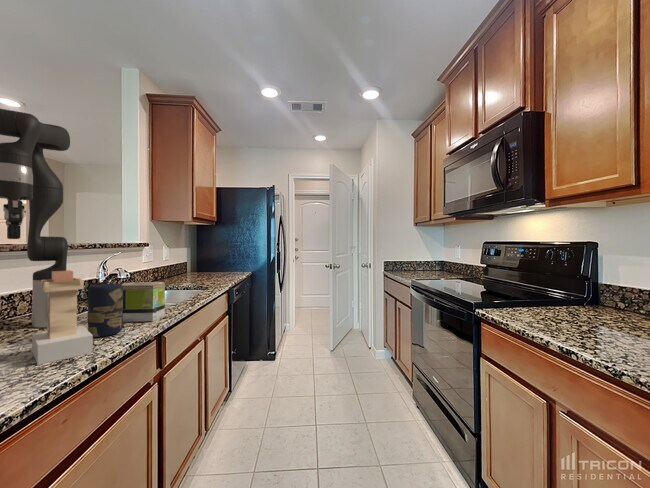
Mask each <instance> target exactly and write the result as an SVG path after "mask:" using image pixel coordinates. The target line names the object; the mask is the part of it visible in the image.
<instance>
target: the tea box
mask: <svg viewBox="0 0 650 488" xmlns="http://www.w3.org/2000/svg"><path fill="white" fill-rule="evenodd" d="M121 284H122V286H123V323H125V322H126V323H130V322H131V323H133V322H137V323H138V322H141V323H142V322H155V321H157V320H159V319H162V318H164V317H165V313H166V312H165V311H166V310H165V309H166V292H165V291H166V290H165V289H166V283H165V281H153V282H152V281H151V282H150V281H149V282H148V281H144V282H143V281H142V282H125V283H121Z"/></svg>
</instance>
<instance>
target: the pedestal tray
mask: <svg viewBox="0 0 650 488" xmlns="http://www.w3.org/2000/svg"><path fill="white" fill-rule="evenodd" d="M84 281H85V280H84V279H82V278H80V277H73V281H59V282H52V279H50V280H41V289H42V290H43V291H44V292H48V317H47V327H46V328H47V330H46V331H47V335H48V337H49V338H50V339H53V338H59V337H64V336H70V335H76V334H77V325H78V322H77V321H78V319H77V318H78V290H84V289H85V287H84V284H85V282H84Z"/></svg>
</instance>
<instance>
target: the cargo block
mask: <svg viewBox="0 0 650 488" xmlns="http://www.w3.org/2000/svg"><path fill="white" fill-rule="evenodd" d="M73 278H74V271H73V270H70V269H69V270H68V269H67V270H66V271H52V282H59V281H73Z"/></svg>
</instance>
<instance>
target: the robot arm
mask: <svg viewBox="0 0 650 488" xmlns="http://www.w3.org/2000/svg"><path fill="white" fill-rule="evenodd" d="M0 136H5V137H11V138H12V137H13V138H17V140H16V141H13V142H0V199H4V200H5V199H6V200H7V203H6V204H5V203H3V206H2V208H3V209H2V210H3V211H2V212H4V220H5V225H6V228H7V229H6V238H7V239H8V240H19V239H20V238H21V231H22V230H21V228H22V227H21V226H22V224H23V220H24V216H25V215H24V213H25V205H24V203H23V201H28V204H29V205H28V206H29V207H28V209H29V220H28V221H29V223H28V234H27V246H26V254H27V258H28V260H29V261H31V262H53V261H55V262H54V264H52V265H51V266H48V267H46V268H43V269H39V270H36V271H35V272H32V301H31V303H32V304H31V312H32V313H31V326H32V328H47V317H48V292H44V291H43V290H42V289H41V280H50V279H52V271H67V260H68V250H69V249H68V247H69V246H68V245H69V244H68V239H67V238H66V237H64V236H41V234H42V233H41V232H42V230H43V229H44V226H45V225H46V223H47V222H48V221H49V220H50V218H52V216H54V214H55V213H57V211H58V210H59V209H60V207H61V206H63V203H64V185H63V183H62V181H61V180H60V178H59V177H58V176H57V174H56V173H55V172H54V171H53V169H52V168H51V167H50V165H49V164H48V162H47V161H46V158H45V155H44V150H48V151H55V152H65V151H67V150H69V149H70V147H71V136H70V134H69V131H68V130H67V129H66V128H65V127H64V126H63V127H62V126H60V125H56V124H50V123H43V122H41V121H39V118H37V117H36V116H35V115H33V114H31V113H28V112H23V111H17V110H10V109H3V108H0Z"/></svg>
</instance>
